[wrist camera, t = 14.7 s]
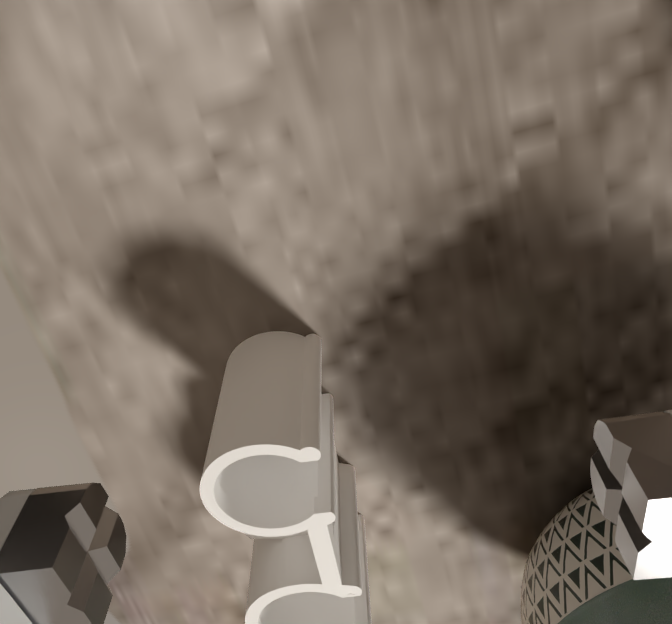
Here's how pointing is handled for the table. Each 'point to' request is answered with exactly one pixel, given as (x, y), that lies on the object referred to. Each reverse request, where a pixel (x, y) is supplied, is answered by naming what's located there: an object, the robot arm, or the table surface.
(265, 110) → the table surface
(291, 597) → the c-shaped pipe clip
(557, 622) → the planter
